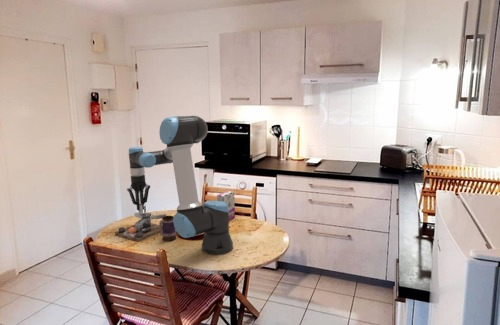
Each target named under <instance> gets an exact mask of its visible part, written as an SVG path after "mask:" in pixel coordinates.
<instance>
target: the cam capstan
mask: <svg viewBox="0 0 500 325" xmlns="http://www.w3.org/2000/svg"><path fill="white" fill-rule="evenodd" d="M165 216H167V214H166V213H161V214H152V213H151V212H143V214H140V213H139V211H138V212H134V217H136V218H138V219H139V220H138V221H137V220H136V222H135V223H134V225H135V226H134V227H135V228H136V230H137V231H136V233H137V232H143V233H146V232H149V231H150V230H151V223H152V220H160V219H161V220H162V218H163V217H165ZM141 224H142V225H141Z"/></svg>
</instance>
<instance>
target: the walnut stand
mask: <svg viewBox="0 0 500 325" xmlns="http://www.w3.org/2000/svg"><path fill="white" fill-rule="evenodd" d="M141 225H142V224H141ZM134 226H135V224H133V225H131V226H128V227H126V228H125V227H124V226H123V227H122V226H121V227H119V228H118V231H115V232H114V236H116V237H120V238H124V239H128V240H130V241H134V242H136V243H137V242H138V243H139V242H142V241H144V240H146V239H148V238H151V237H153V236H155V235H157V234H160V226H159V224H157V223H152V222H151V230H150V231H149V232H146V233H143V232H137V233H135V234H130V233H129V228H131V227H134Z"/></svg>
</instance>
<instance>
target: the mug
mask: <svg viewBox="0 0 500 325" xmlns="http://www.w3.org/2000/svg"><path fill="white" fill-rule="evenodd" d="M173 218H174V215H166V216H165V217H163V218H161V220H160V219H159V224H158V225H159V226H160V232H159V234H160V237H162V240H163V241H164V242H172V241H174V240H176V239H177V231H176V229H175V226H174V223H173Z"/></svg>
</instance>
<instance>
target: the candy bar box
mask: <svg viewBox="0 0 500 325" xmlns="http://www.w3.org/2000/svg"><path fill="white" fill-rule="evenodd" d="M216 201H221V202H225V203H226V204H227V205H228V210H229V221H231V220H233V219H235V218H236V211H235V210H236V209H235V191H230V190H227V191H224V192H222V193H220V194H217V195H216Z"/></svg>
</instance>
